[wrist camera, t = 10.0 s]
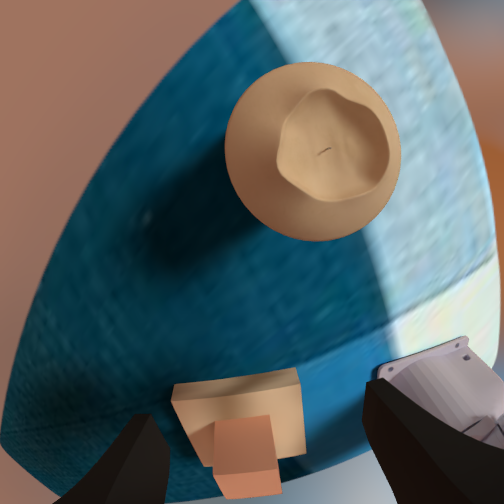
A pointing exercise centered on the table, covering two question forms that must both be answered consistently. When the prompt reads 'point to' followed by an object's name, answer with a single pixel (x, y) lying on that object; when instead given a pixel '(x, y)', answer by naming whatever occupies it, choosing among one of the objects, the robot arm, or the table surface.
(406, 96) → the table surface
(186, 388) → the birch block
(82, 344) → the table surface
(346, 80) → the candle
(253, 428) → the terracotta block
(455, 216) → the table surface
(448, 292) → the table surface
